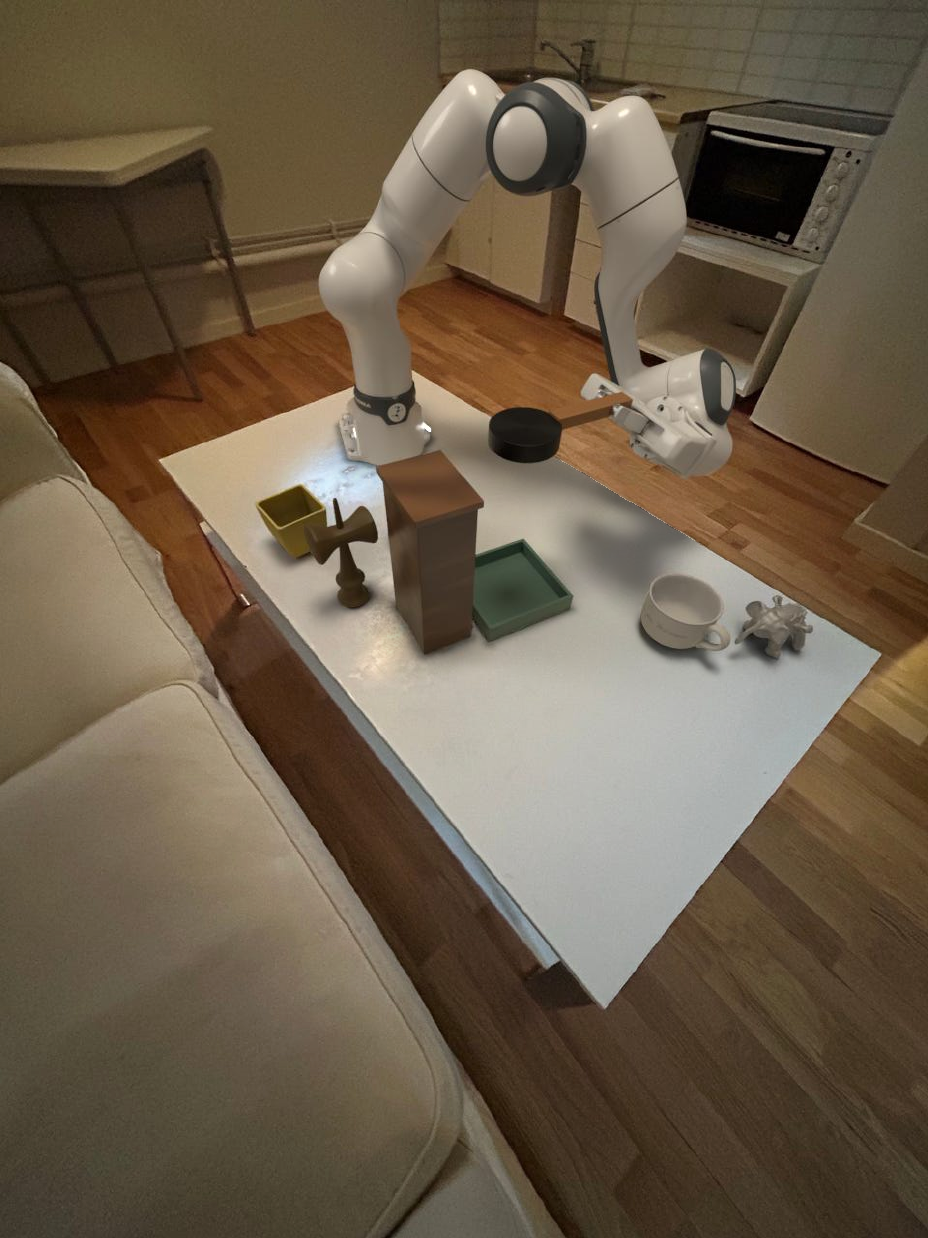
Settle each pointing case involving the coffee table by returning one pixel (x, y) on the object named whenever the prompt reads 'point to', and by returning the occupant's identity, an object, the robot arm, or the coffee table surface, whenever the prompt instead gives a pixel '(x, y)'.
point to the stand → (432, 546)
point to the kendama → (344, 550)
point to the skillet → (543, 427)
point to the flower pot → (292, 517)
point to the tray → (514, 590)
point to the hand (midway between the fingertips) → (605, 403)
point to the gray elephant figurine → (776, 624)
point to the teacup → (683, 612)
